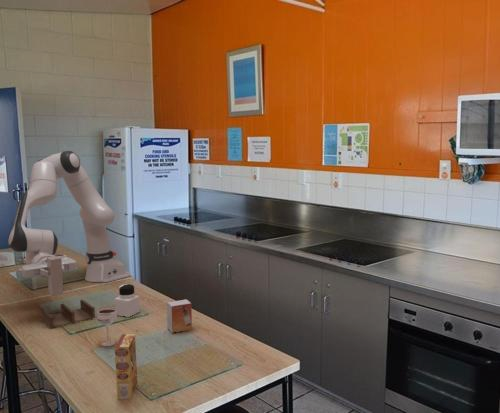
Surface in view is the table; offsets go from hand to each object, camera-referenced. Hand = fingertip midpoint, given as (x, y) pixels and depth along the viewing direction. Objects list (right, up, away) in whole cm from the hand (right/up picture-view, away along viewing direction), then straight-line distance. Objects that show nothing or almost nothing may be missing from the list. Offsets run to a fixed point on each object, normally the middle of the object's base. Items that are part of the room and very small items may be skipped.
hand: (55, 272), depth 185 cm
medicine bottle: (+25, -19, +12) cm, 33 cm away
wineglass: (+25, -23, -17) cm, 38 cm away
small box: (+49, -21, -5) cm, 53 cm away
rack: (+3, -19, +6) cm, 20 cm away
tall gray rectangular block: (-1, -8, +2) cm, 8 cm away
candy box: (+41, -27, -50) cm, 70 cm away
